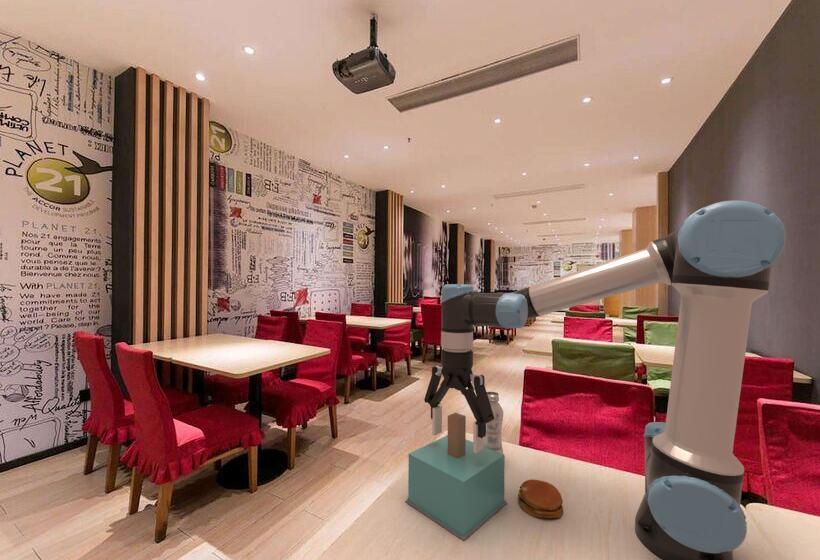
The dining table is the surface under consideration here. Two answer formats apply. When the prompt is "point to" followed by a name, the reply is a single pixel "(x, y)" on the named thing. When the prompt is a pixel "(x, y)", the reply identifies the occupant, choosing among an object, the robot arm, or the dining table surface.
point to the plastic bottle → (494, 425)
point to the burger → (540, 499)
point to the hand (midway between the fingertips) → (456, 441)
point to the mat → (450, 528)
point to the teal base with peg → (456, 479)
